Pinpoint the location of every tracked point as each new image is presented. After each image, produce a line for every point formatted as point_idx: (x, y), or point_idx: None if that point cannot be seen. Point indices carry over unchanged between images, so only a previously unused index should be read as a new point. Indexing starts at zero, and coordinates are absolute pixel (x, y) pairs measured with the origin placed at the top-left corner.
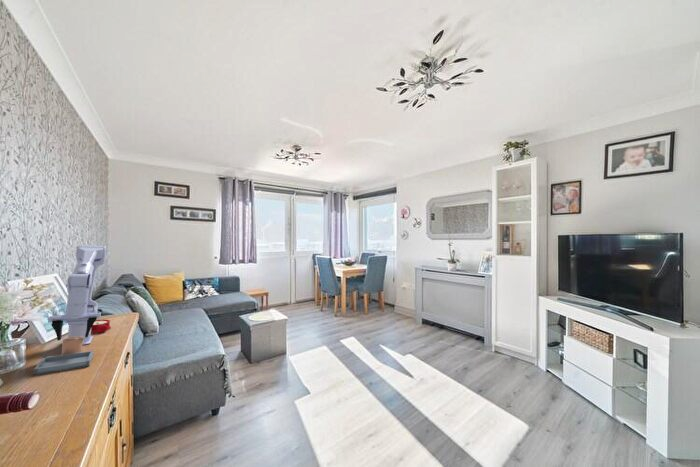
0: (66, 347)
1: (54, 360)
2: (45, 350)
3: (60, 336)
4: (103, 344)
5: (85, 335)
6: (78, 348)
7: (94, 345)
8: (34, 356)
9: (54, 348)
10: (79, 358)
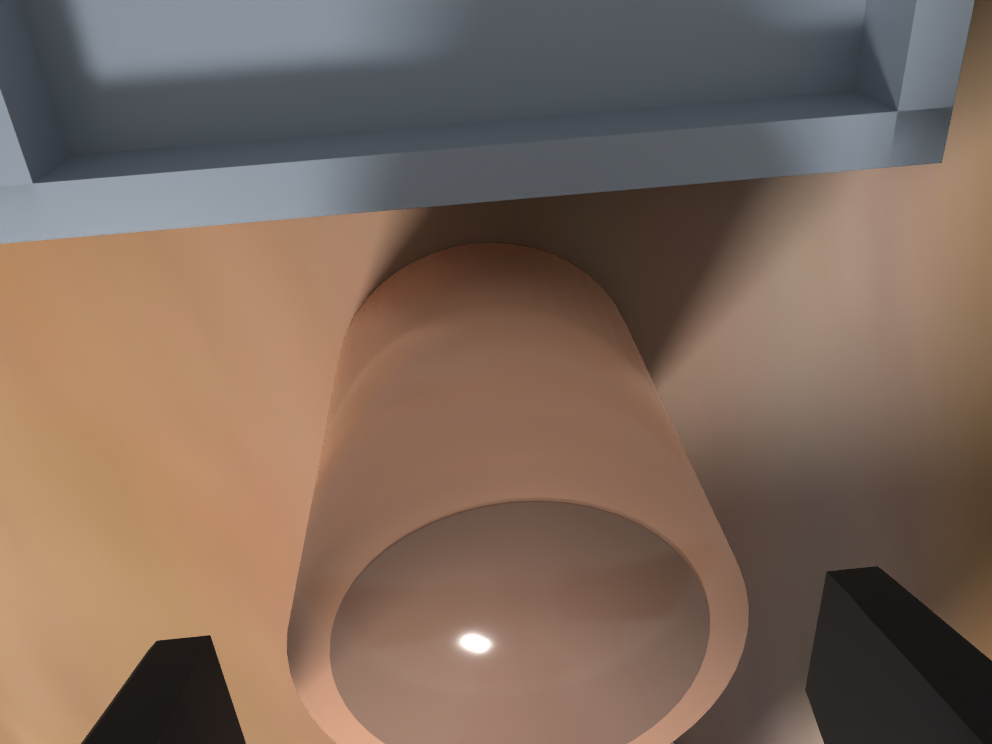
0: (592, 367)
1: (707, 95)
2: None
3: (876, 693)
4: None
5: (183, 684)
6: (353, 381)
7: (266, 709)
8: (983, 509)
9: (771, 729)
10: (231, 2)
